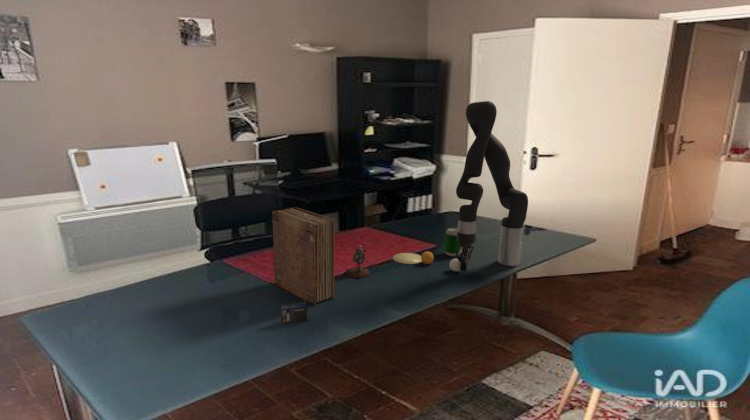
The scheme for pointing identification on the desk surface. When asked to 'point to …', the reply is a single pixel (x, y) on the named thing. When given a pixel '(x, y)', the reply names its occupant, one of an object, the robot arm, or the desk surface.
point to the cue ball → (455, 265)
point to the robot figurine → (359, 259)
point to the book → (304, 253)
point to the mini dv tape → (294, 312)
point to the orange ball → (427, 257)
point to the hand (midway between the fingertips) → (463, 270)
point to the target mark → (407, 258)
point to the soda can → (451, 242)
